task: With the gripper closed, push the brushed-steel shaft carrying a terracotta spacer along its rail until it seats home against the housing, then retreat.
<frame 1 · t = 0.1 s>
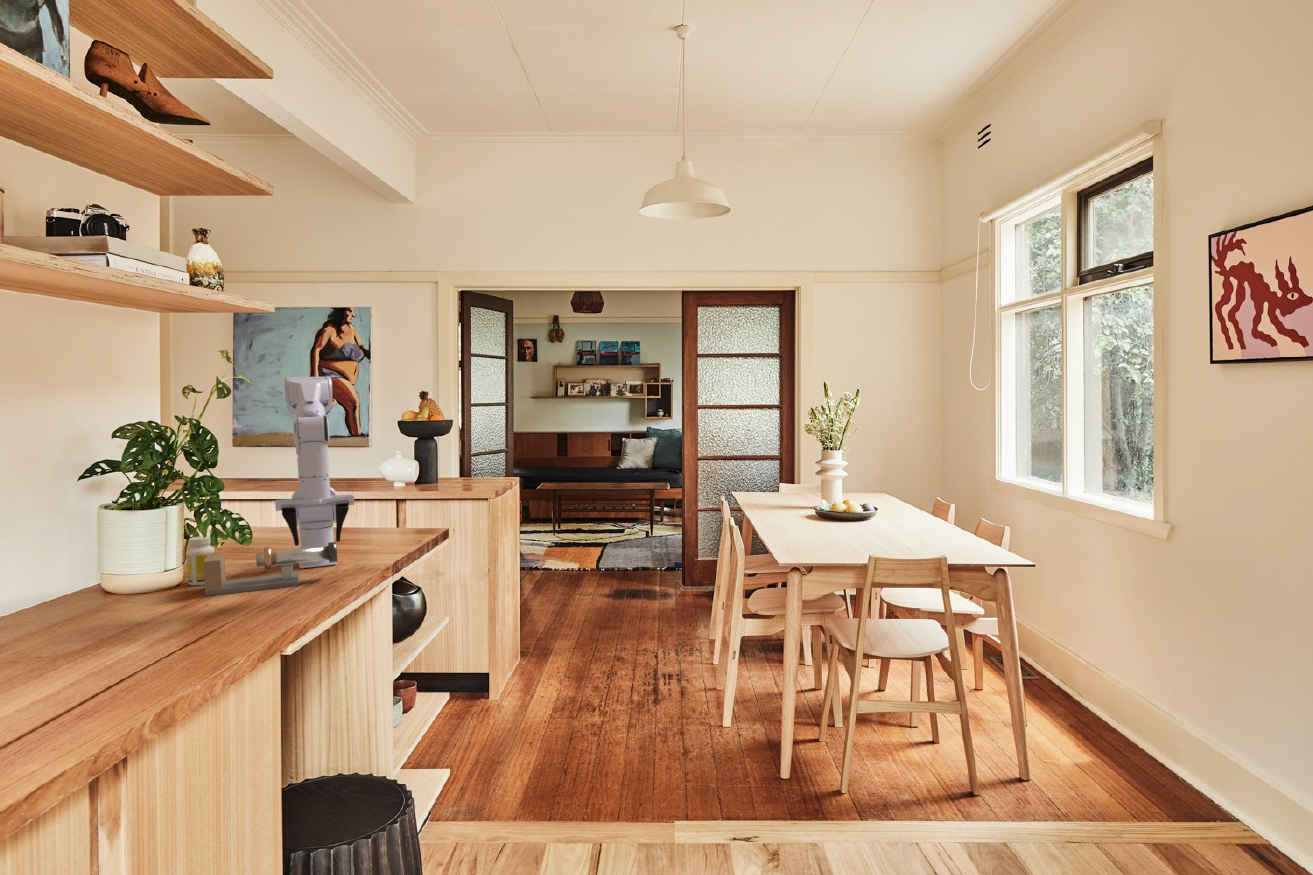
hand: (317, 542, 160), 10 cm above the worktop, fingers open, 7 cm apart
shaft stand: (256, 585, 167), on the worktop
supplement bottle: (202, 583, 171), on the worktop
shaft: (297, 555, 169), point 5 cm above the worktop, slide at 6.0 cm
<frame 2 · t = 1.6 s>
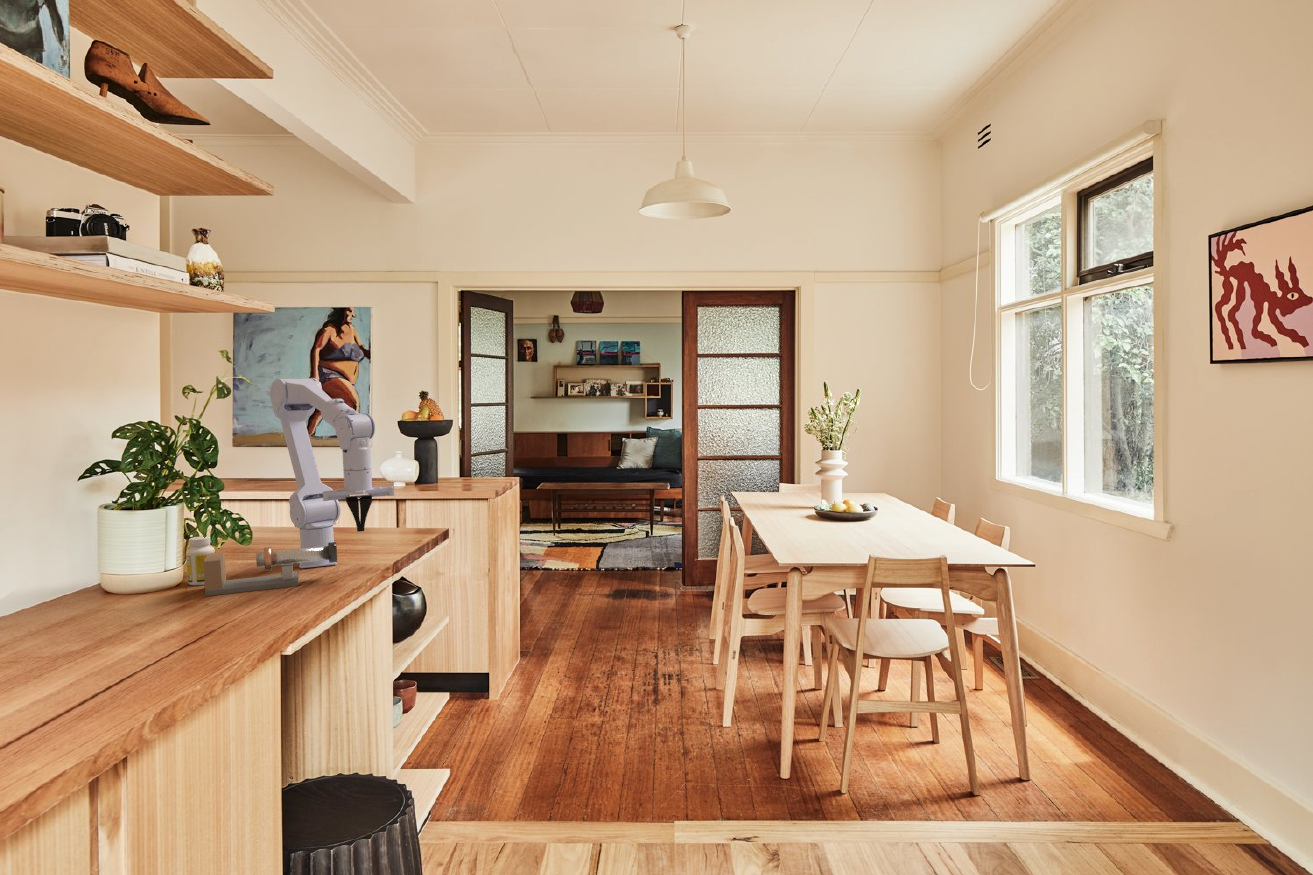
hand: (360, 530, 174), 10 cm above the worktop, fingers closed
nothing on the worktop moved.
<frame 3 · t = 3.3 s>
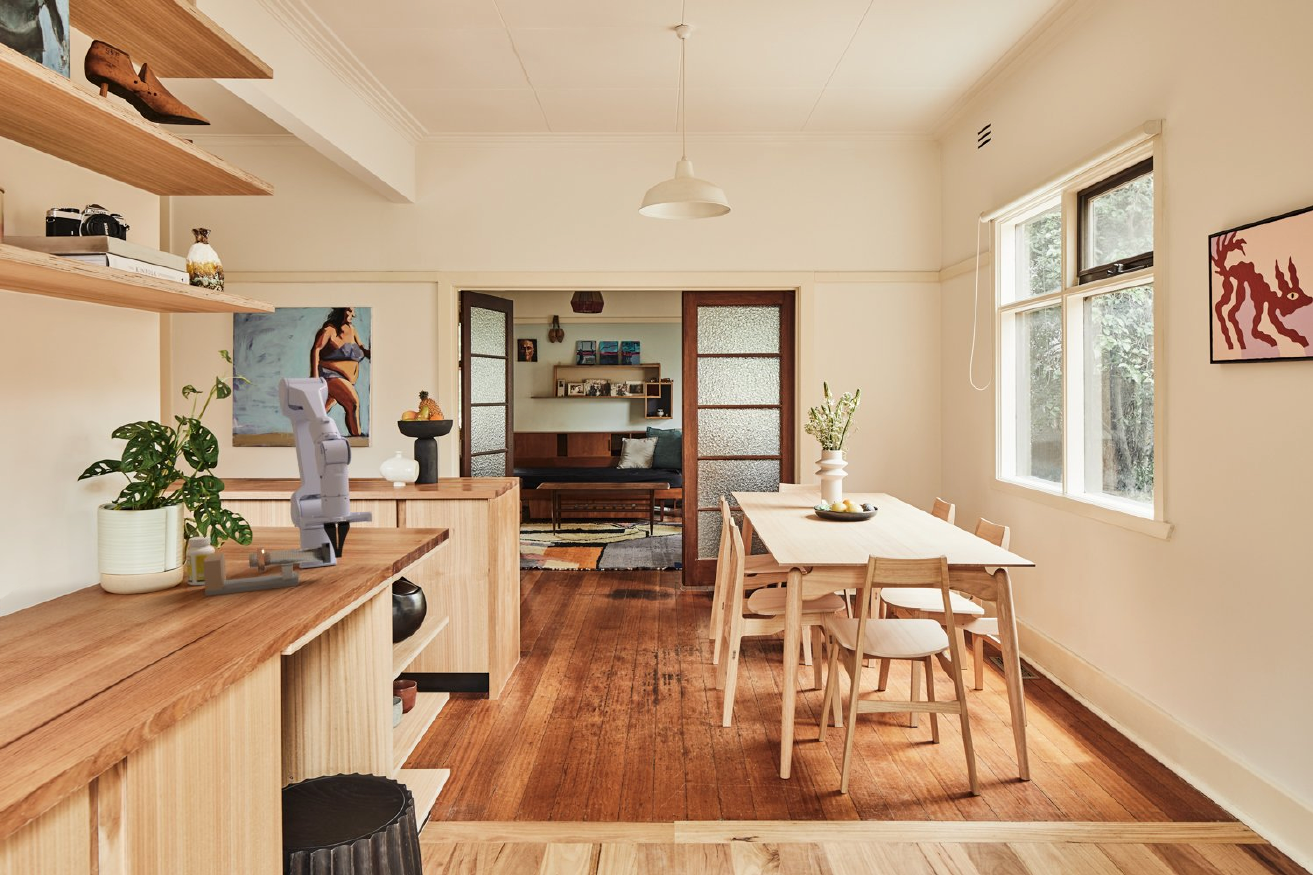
hand: (338, 556, 173), 4 cm above the worktop, fingers closed
shaft: (290, 556, 169), point 5 cm above the worktop, slide at 4.7 cm, touching gripper
everything else where it was.
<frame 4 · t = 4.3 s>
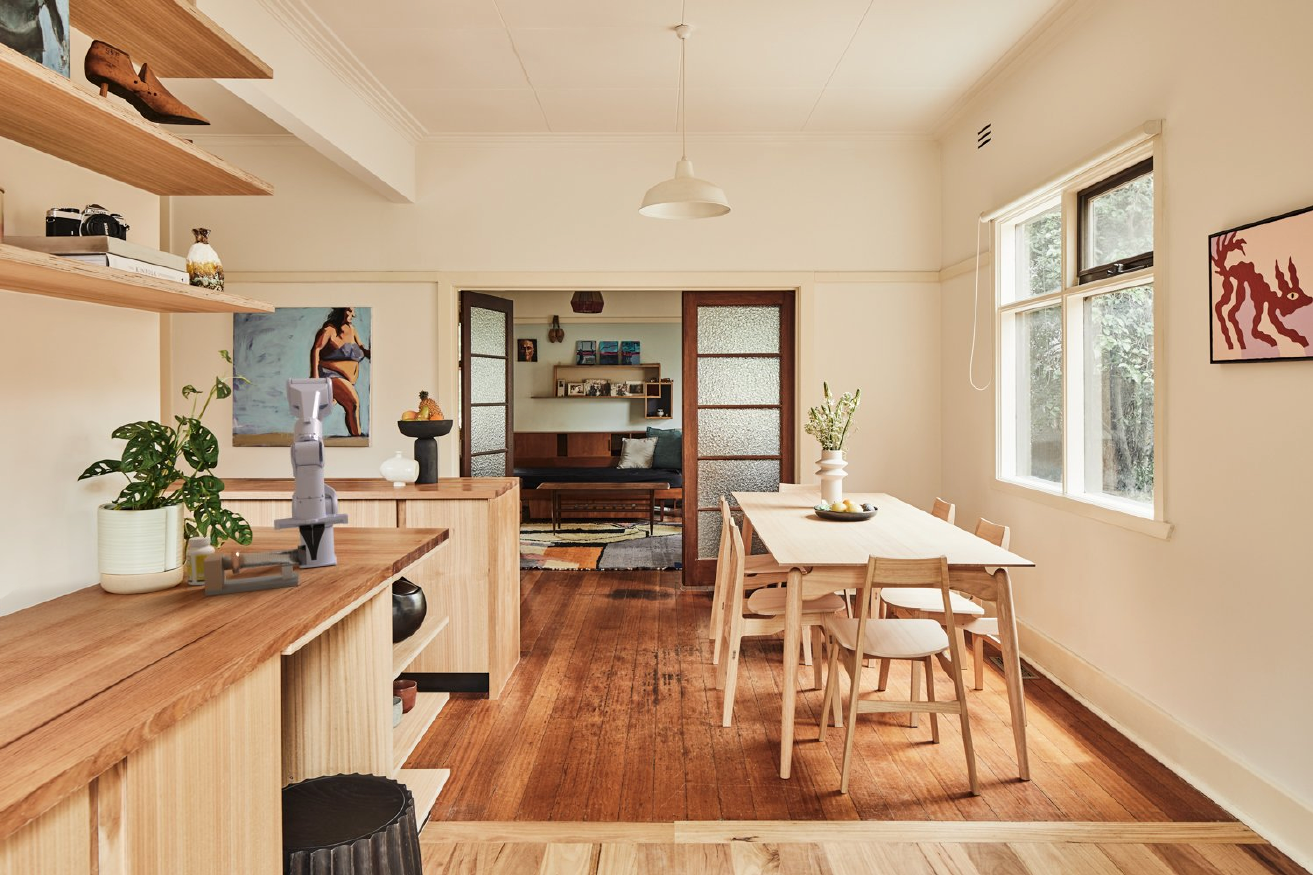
hand: (313, 559, 171), 4 cm above the worktop, fingers closed
shaft: (265, 559, 167), point 5 cm above the worktop, slide at -0.1 cm, touching gripper
everything else where it was.
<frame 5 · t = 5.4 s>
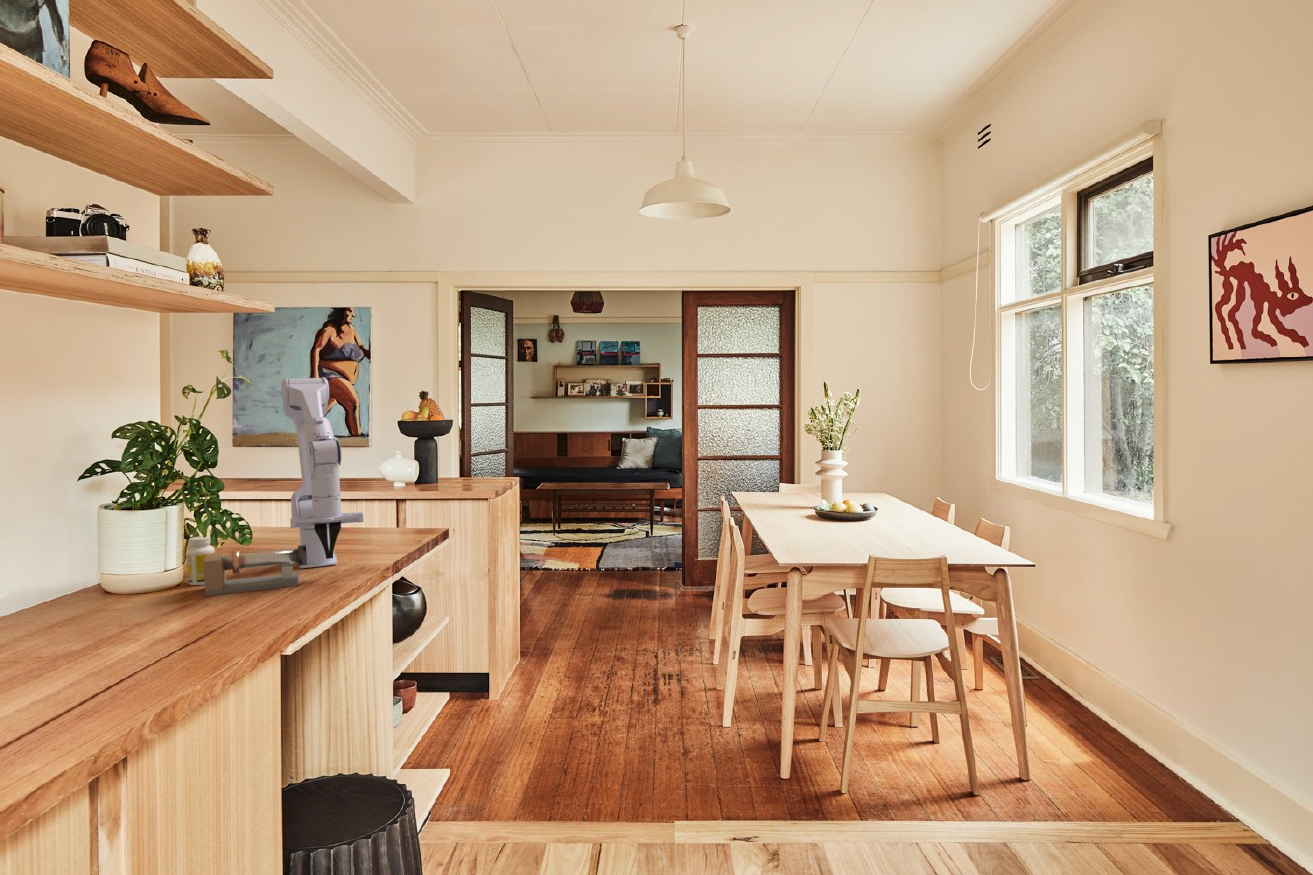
hand: (329, 557, 172), 4 cm above the worktop, fingers closed
shaft: (266, 559, 167), point 5 cm above the worktop, slide at 0.0 cm
everything else where it was.
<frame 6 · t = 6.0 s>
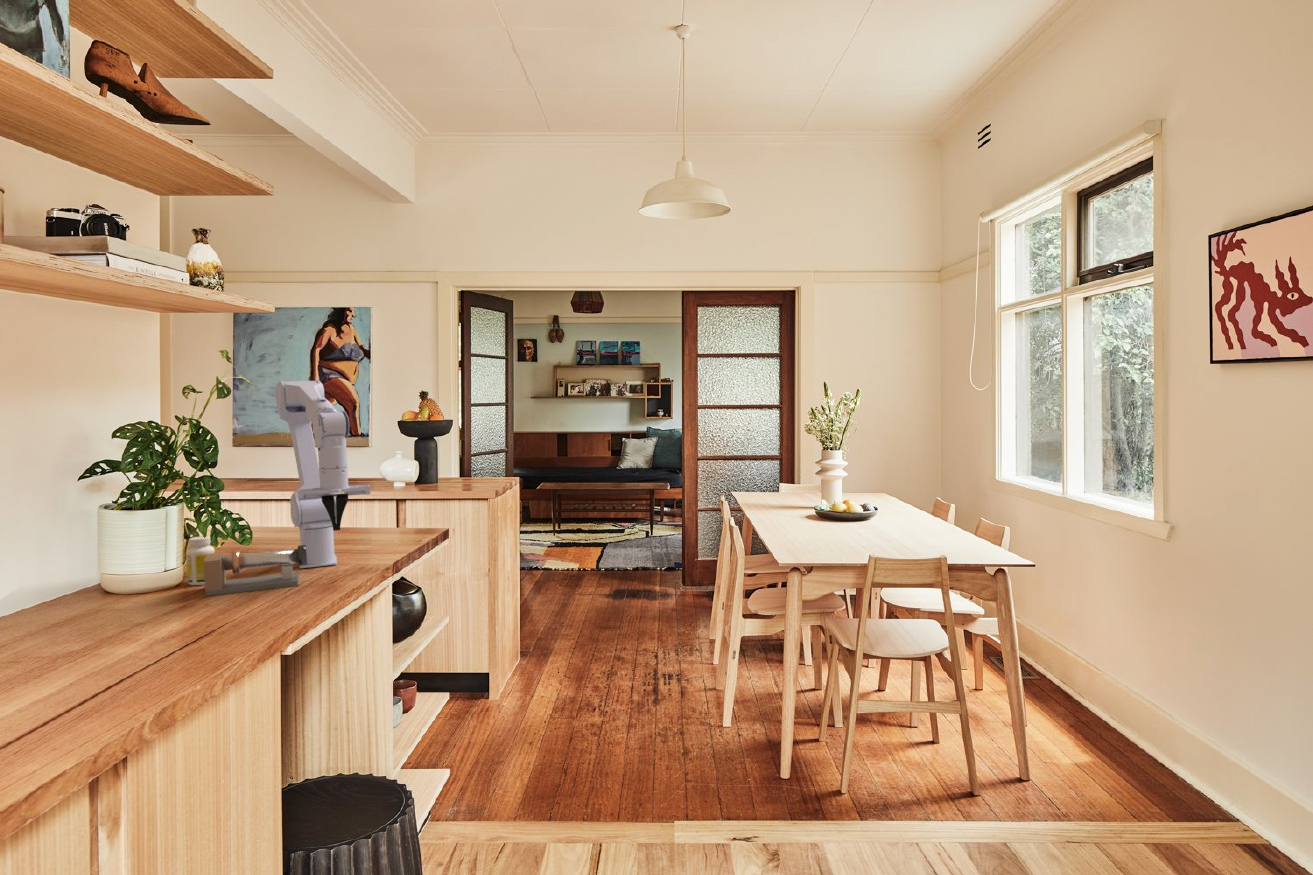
hand: (336, 529, 172), 10 cm above the worktop, fingers closed
nothing on the worktop moved.
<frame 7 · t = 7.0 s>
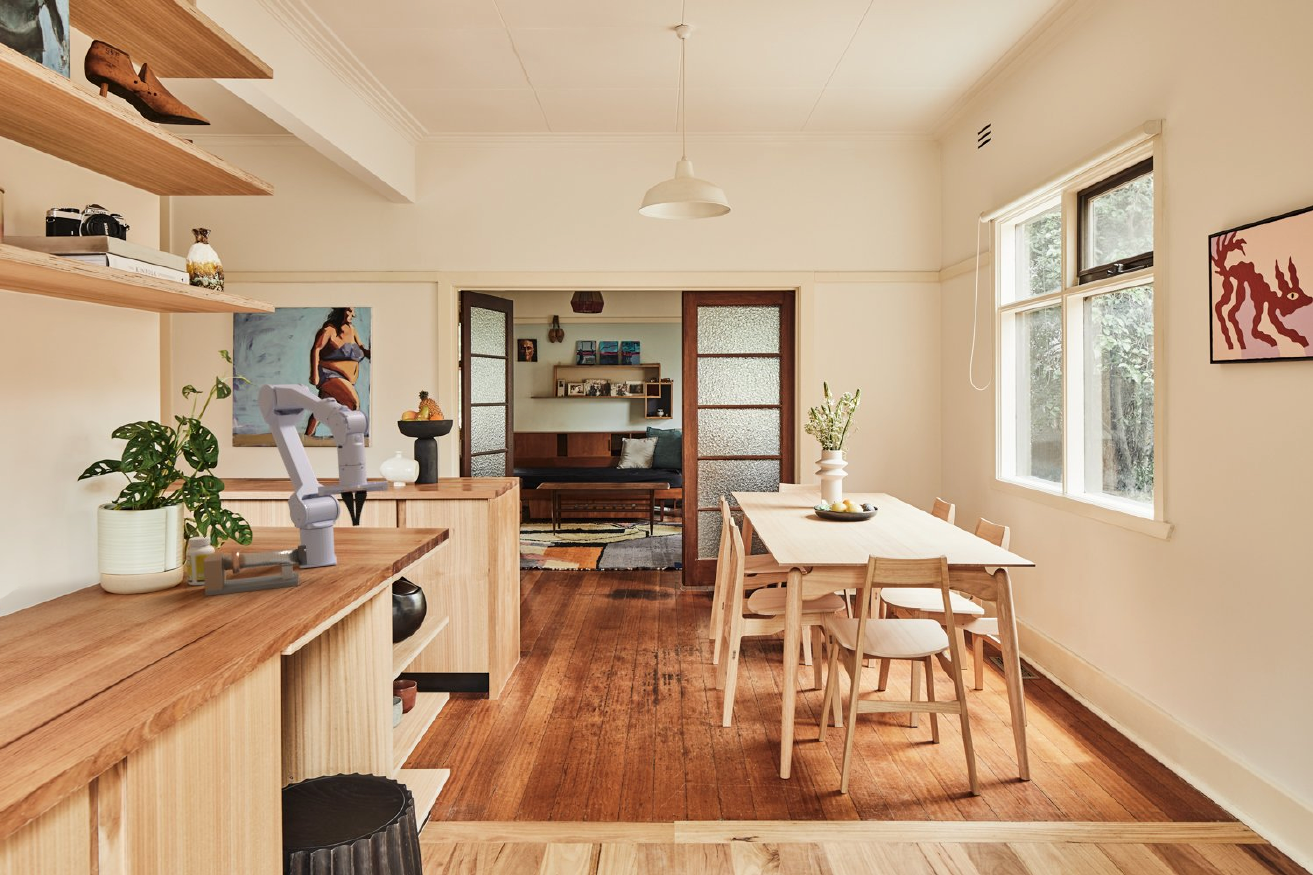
hand: (355, 525, 177), 10 cm above the worktop, fingers closed
nothing on the worktop moved.
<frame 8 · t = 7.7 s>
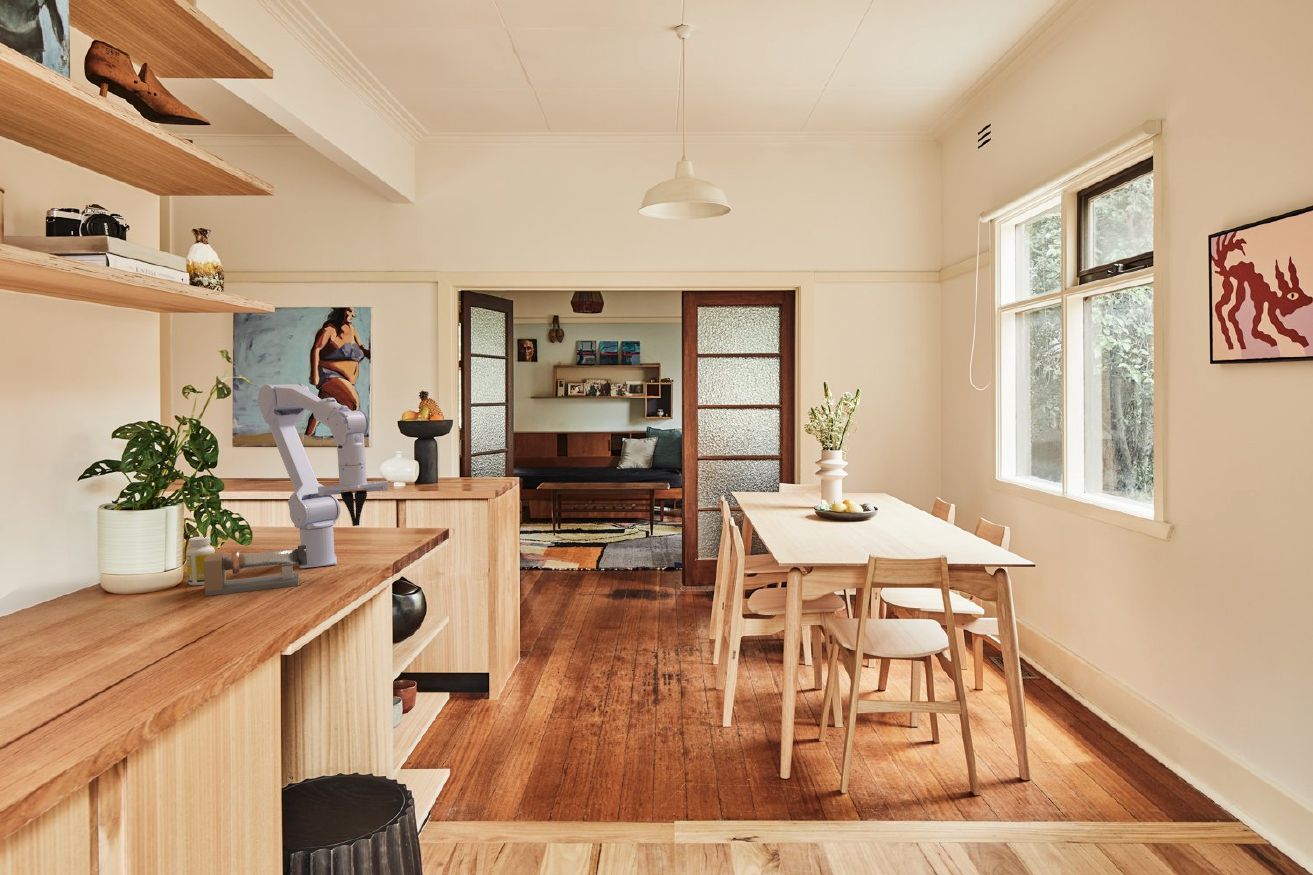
hand: (355, 525, 177), 10 cm above the worktop, fingers closed
nothing on the worktop moved.
at the end: shaft slide at 0.0 cm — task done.
